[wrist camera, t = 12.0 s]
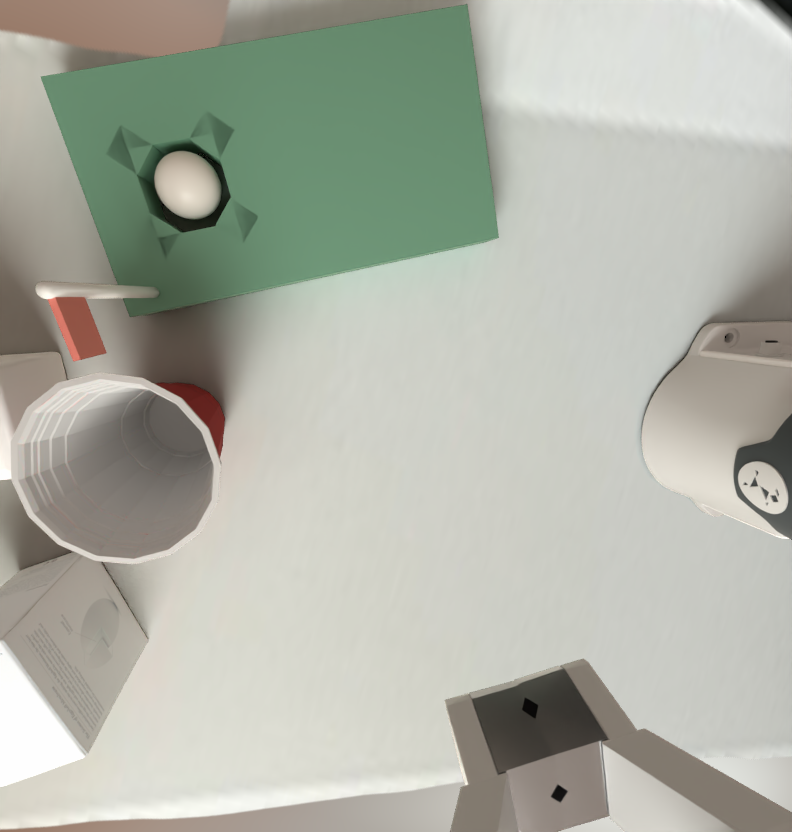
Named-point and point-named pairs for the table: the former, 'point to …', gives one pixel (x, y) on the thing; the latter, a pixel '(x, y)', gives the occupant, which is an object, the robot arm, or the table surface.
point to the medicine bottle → (23, 393)
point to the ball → (187, 185)
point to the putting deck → (278, 161)
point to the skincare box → (60, 662)
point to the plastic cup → (119, 465)
